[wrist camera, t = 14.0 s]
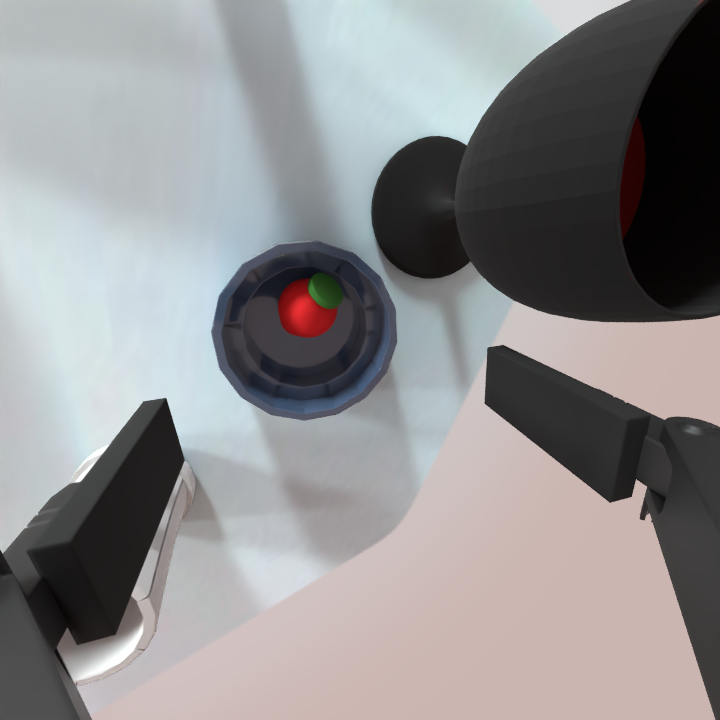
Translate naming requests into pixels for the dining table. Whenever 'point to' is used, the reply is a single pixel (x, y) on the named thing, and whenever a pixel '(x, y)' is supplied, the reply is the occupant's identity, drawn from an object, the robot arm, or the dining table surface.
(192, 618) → the dining table surface
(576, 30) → the wine glass
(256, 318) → the bowl
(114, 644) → the cup
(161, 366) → the dining table surface
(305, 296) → the strawberry
